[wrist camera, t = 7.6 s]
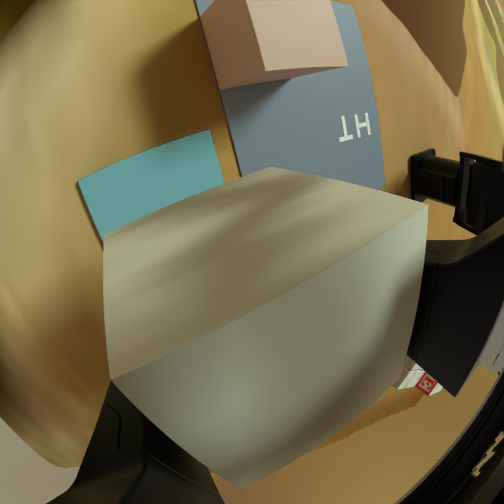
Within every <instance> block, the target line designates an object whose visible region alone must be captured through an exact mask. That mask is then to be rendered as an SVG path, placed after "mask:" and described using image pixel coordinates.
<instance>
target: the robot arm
mask: <svg viewBox="0 0 504 504" xmlns="http://www.w3.org/2000/svg"><path fill="white" fill-rule="evenodd" d="M459 156H460V162H459V161H455V160H451V159H446V158H441V157H436V154H435V149H432V148H431V149H428V150H425V151H423V152H420V153H417V154H415V155H412V157H411V170H412V200H415V201H418V202H422V201H424V200H426V199H430V200H433V201H437V202H440V203H443V204H446V205H449V206H452V207H455V214H454V217H453V222H454V223H456V224H457V225H458V226H460V227H462V228H464V229H466V230H468V231H470V232H471V233H473V234H475V235H476V237H473V238H470V239H466V240H426V248H425V258H424V266H423V274H422V281H421V287H420V294H419V299H418V305H417V310H416V315H415V320H414V325H413V329H412V334H411V338H410V342H409V346H408V350H407V354H406V355H407V356H409V357H410V358H411V359H412V360H413V361H415V363H416V364H417V365H419V366H420V367H421V368H422V369H423V370H424V371H425V372H427V373H428V374H429V375H430V376H431V377H432V378H433V379H434V380H436V381H437V382H438V383H439V384H440V385H441V386H442V387H443V388H444V389H446V390H447V391H448V392H449V393H450V394H451V395H452V396H454V397H456V396H457V394H458V393H459V392H460V390H461V389H462V388H463V386H464V385H465V383H466V382H467V381H468V379H469V378H470V376H471V375H472V373H473V372H474V370H475V369H476V367H477V366H478V364H479V363H480V364H481V365H483V366H484V367H486V368H487V369H489V370H490V371H492V372H494V371H495V370H497V371H498V375H499V376H498V378H497V380H496V382H495V383H494V385H493V387H492V388H491V390H490V392H489V393H488V395H487V397H486V398H485V400H484V402H483V403H482V404H481V406H480V408H479V409H478V411H477V412H476V414H475V415H474V417H473V418H472V419H471V421H470V422H469V423H468V425H467V426H466V427H465V429H464V430H463V432H462V433H461V434H460V436H459V437H458V438H457V439H456V440H455V442H454V443H453V444H452V445H451V447H450V448H449V449H448V450H447V451H446V453H445V454H444V455H443V456H442V457H441V458H440V459H439V461H438V462H437V463H436V464H435V465H434V466H433V467H432V468H431V469H430V470H429V472H427V473H426V475H425V476H424V477H423V478H422V479H421V480H420V481H419V482H417V484H415V485H414V486H413V487H412V488H411V489H410V490H409V491H408V492H407V493H406V494H405V495H404V496H403V497H401V498H400V499H399V500H398V501H397V502H396V503H395V504H504V438H503V439H502V440H501V441H500V442H499V444H497V445H496V447H494V449H493V450H492V452H491V453H492V454H493V456H492V457H491V458H490V459H489V460H488V461H487V462H485V463H484V464H483V465H482V466H481V468H480V469H479V470H478V471H479V472H480V474H479V476H475V475H474V474H473V473H474V472H475V471H476V470H477V468H476V466H477V465H478V464H479V463H480V462H481V461H482V460H483V459H485V457H486V456H487V454H486V452H487V451H488V450H489V449H490V448H491V447H492V446H493V445H494V444H495V442H496V441H495V439H496V438H497V437H498V436H499V434H500V433H501V432H502V431H503V432H504V162H502V161H499V160H496V159H492V158H489V157H485V156H481V155H477V154H473V153H467V152H460V154H459ZM474 160H476V162H474ZM502 435H503V436H504V433H503V434H502ZM47 504H225V503H224V501H223V499H222V497H221V496H220V493H219V491H218V489H217V487H216V485H215V483H214V481H213V479H212V477H211V475H210V472H209V470H208V468H207V467H206V466H205V465H204V464H202V463H201V462H199V461H198V460H197V459H196V458H194V457H193V456H192V455H190V454H189V453H188V452H186V451H185V450H184V449H183V448H181V447H180V446H179V445H178V444H177V443H175V442H174V441H173V440H172V439H171V438H169V437H168V436H167V435H166V434H165V433H164V432H163V431H161V430H160V429H159V428H158V427H157V426H156V425H155V424H154V423H153V422H151V421H150V420H149V419H148V418H147V417H146V416H145V415H144V414H143V413H142V412H141V411H140V410H139V409H138V408H137V407H136V406H135V405H134V404H133V403H132V402H131V401H130V400H129V399H128V398H127V397H126V396H125V395H124V394H123V393H122V392H121V391H120V390H119V389H118V387H117V386H116V385H115V384H114V383H113V382H112V381H110V384H109V387H108V390H107V393H106V396H105V399H104V403H103V405H102V408H101V412H100V415H99V418H98V421H97V424H96V427H95V430H94V432H93V435H92V437H91V440H90V443H89V445H88V448H87V450H86V453H85V456H84V458H83V461H82V464H81V466H80V469H79V472H78V474H77V477H76V479H75V481H74V483H73V484H72V485H71V487H70V488H69V489H68V490H67V491H66V492H64V493H63V494H61V495H60V496H58V497H56V498H55V499H53V500H51V501H50V502H48V503H47Z"/></svg>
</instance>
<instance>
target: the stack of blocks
mask: <svg viewBox="0 0 504 504" xmlns="http://www.w3.org/2000/svg"><path fill="white" fill-rule="evenodd" d="M413 386H415V387H417V388H418V389H419V390H421V391H422V392H423V393H425V394H426V395H427V396H430V395H432V394H434V393H436V392H438V391H441V389H442V388H443V387H442V386H441V385H440V384H439V383H438V382H437V381H436V380H434V379H433V378H432V377H431V376H430V375H429V374H428V373H427V372H425V371H424V370H423V369H422V368H421V367H420V366H419V365H417V364H416V363H415V361H413V360H412V359H411V358H410V357H409V356H407V355H406V358H405V361H404V365H403V368H402V372H401V375H400V378H399V380H398V381H397V382H396V383H395V384H394V385H393V387H394V388H396V389H402V388H409V387H413Z"/></svg>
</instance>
